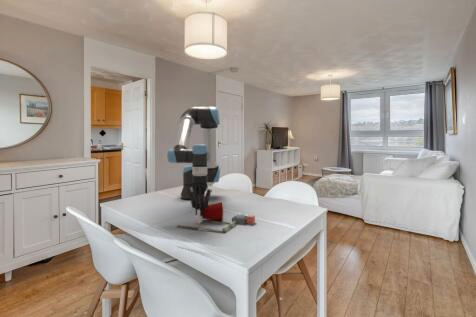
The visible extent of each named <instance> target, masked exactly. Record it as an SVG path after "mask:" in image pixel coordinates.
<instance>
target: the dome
mask: <svg viewBox="0 0 476 317" xmlns="http://www.w3.org/2000/svg"><path fill="white" fill-rule="evenodd" d="M235 216H236V218H241V219H245V216H246V215H245V213H243V212H237V213H236V215H235Z"/></svg>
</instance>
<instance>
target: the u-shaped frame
mask: <svg viewBox="0 0 476 317" xmlns="http://www.w3.org/2000/svg"><path fill="white" fill-rule="evenodd" d="M203 221H206V222H213V223H218V224H219V223H220V224H224V225H225V224H226V225H225V226H224V227H222V229H221V230H220V229H214V228H213V229H212V228H205V227H194V226H188V225H178V224H177V225H176V226H175V227H176V228H177V229H186V230H195V231H205V232H211V233H220V234H225V233H227V232H228V231H230V229H232V228H234V227H235V226H236V225H237V224H236V221H234V222H232V221H231V222H230V221H229V222H228V221H223V222H222V221H218V220H210V219H203Z"/></svg>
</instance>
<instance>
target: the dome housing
mask: <svg viewBox="0 0 476 317" xmlns="http://www.w3.org/2000/svg"><path fill="white" fill-rule="evenodd" d="M234 221H236V225H243V226H248V227H249V226H250V227H253V226H254V225H255V222H256V216H255V215H249V214H248V215H245V219H241V218H236V215H234V216H233V217H232V218H231V223H232V222H234Z"/></svg>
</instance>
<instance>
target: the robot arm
mask: <svg viewBox="0 0 476 317" xmlns="http://www.w3.org/2000/svg"><path fill="white" fill-rule="evenodd" d="M195 125H198V126H199V127H200V129H201V130H202V141H203V143H202V144H193V145H192V148H190V149H189V144H190V139H191V136H192V130H193V128H194V126H195ZM220 125H221V120H220V113H219V109H218V108H217V107H216V106H191V107H189V108H188V109H186V110H185V111H184V112H182V114H181V115H180V118H179V128H178V131H177V135H176V138H175V142H174V147H173V148H170V149H168V150H167V161H168V163H171V164H191V165H186V166H184V167H183V171H182V174H183V175H182V177H183V178H182V179H183V180H182V184H183V185H182V190H181V191H180V198H181V199H184V200H185V199H186V200H187V199H188V200H189V199H190V203H191V208H192V209H193V208H194V209H195V216H196V223H197V224H201V223H202V222H203V219H202V216H203V215H204V209H205V208H207V207H208V205H209V201H210V199H211V198H210V197H211V193H212V192H213V189H212V188H209V186H208V184H209V183H211V184H213V183H219V181H220V177H221V176H220V174H221V166H219V163H218V162H217V143H216V142H217V141H216V139H217V138H216V137H217V134H216V130H217V129H218V127H219V126H220Z"/></svg>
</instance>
